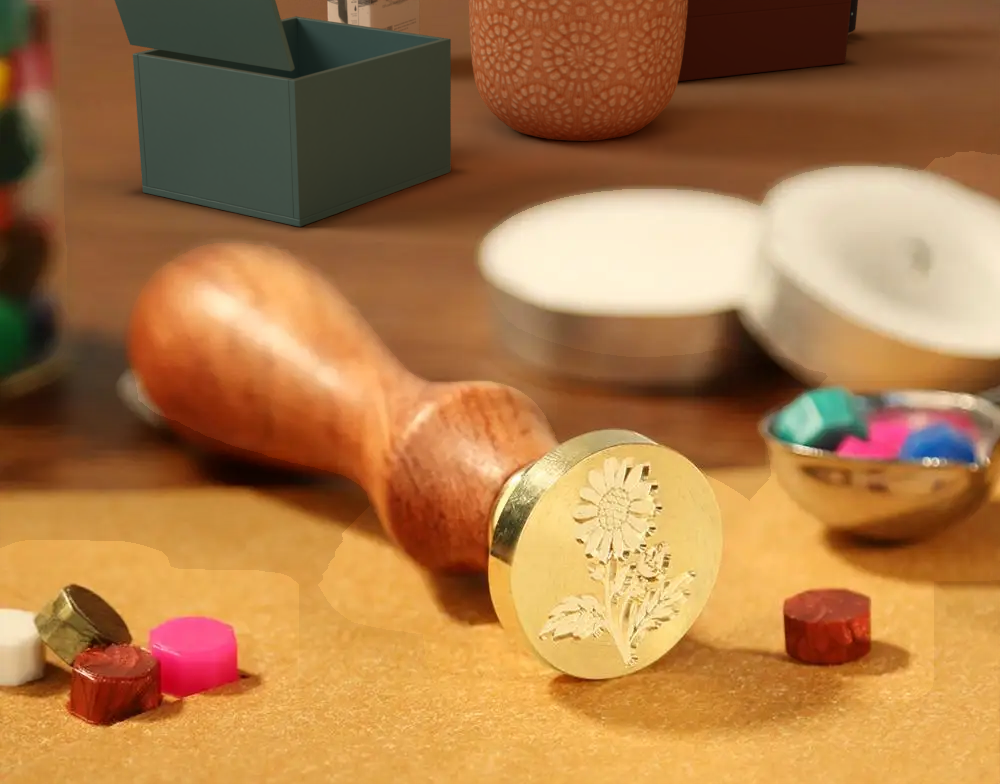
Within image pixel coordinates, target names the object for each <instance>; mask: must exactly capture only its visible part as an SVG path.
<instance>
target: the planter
mask: <svg viewBox="0 0 1000 784" xmlns="http://www.w3.org/2000/svg"><path fill="white" fill-rule="evenodd" d="M687 10H688V0H468V24H469V25H468V26H469V43H470V45H469V46H470V57H471V65H472V71H473V77H474V83H475V86H476V89H477V92H478V94H479V96H480V98H481V100H482V102H483V103H484V104H485V105H486V107H487V109H488V110H489V111H491V113H492V114H493V115H494V116H495V117H496V118H498V120H500V121H501V122H502V123H503V124H505V125H506V126H508V127H509V128H511V129H512V130H514V131H516V132H519V133H521V134H525V135H528V136H532V137H536V138H541V139H548V140H556V141H571V142H572V141H573V142H574V141H575V142H578V141H581V142H582V141H583V142H584V141H588V142H589V141H600V140H601V141H602V140H609V139H615V138H620V137H625V136H628V135H632V134H634V133H637V132H638V131H640V130H641V129H643V128H645V127H646V126H648V125H649V124H650V123H651V122H652V121H654V120H655V119H656V118H657V117H658V116H659V115H660V114H661V113H663V111H664V110H665V109H666V108H667V106H668V105H669V104H670V102H671V100H672V98H673V97H674V94H675V92H676V89H677V86H678V83H679V81H678V79H679V74H680V69H681V64H682V59H683V51H684V42H685V33H686V22H687Z"/></svg>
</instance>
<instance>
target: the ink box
mask: <svg viewBox="0 0 1000 784" xmlns="http://www.w3.org/2000/svg"><path fill="white" fill-rule="evenodd" d="M327 21H332V22H338V23H345V24H352V25H359V26H366V27H373V28H380V29H386V30H393V31H400V32H407V33H414V34H421V0H327Z"/></svg>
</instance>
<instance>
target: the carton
mask: <svg viewBox="0 0 1000 784" xmlns="http://www.w3.org/2000/svg"><path fill="white" fill-rule="evenodd" d="M281 22H282V25H283V29H284V32H285V36H286V39H287V43H288V46H289V50H290V53H291V57H292V60H293V64H294V67H295V69H294V70H293V71H286V70H279V69H273V68H267V67H261V66H255V65H249V64H243V63H237V62H231V61H225V60H219V59H213V58H207V57H201V56H195V55H189V54H183V53H177V52H171V51H165V50H159V49H153V48H150V49H146V50H143V51H138V52H135V53H132V62H133V63H132V64H133V77H134V92H135V104H136V105H135V107H136V117H137V131H138V133H137V134H138V146H139V159H140V172H141V185H142V193H143V194H148V195H153V196H157V197H161V198H166V199H170V200H175V201H180V202H185V203H190V204H193V205H199V206H203V207H208V208H211V209H216V210H222V211H225V212H230V213H235V214H238V215H243V216H247V217H253V218H257V219H262V220H266V221H271V222H275V223H280V224H285V225H289V226H294V227H299V228H301V227H304V226H307V225H310V224H312V223H314V222H315V223H316V222H317V221H318V222H319V221H320V220H322V219H325V218H329V217H331V216H334V215H337V214H340V213H342V212H345V211H347V210H350V209H353V208H356V207H358V206H362V205H364V204H367V203H370V202H372V201H374V200H378V199H382V198H384V197H386V196H388V195H391V194H394V193H396V192H399V191H402V190H405V189H408V188H410V187H413V186H416V185H419V184H421V183H424V182H427V181H429V180H432V179H435V178H438V177H441V176H444V175H446V174H449V173H451V171H452V164H451V162H452V155H451V154H452V150H451V149H452V148H451V147H452V144H451V143H452V140H451V139H452V136H451V135H452V133H451V132H452V131H451V129H452V128H451V127H452V122H451V121H452V120H451V119H452V116H451V115H452V109H451V108H452V102H451V101H452V96H451V95H452V91H451V90H452V79H451V77H452V75H451V74H452V69H451V68H452V62H451V60H452V59H451V58H452V51H451V49H452V47H451V46H452V44H451V43H452V40H451V38H448V37H442V36H441V37H440V36H434V35H427V34H421V33H420V34H414V33H407V32H400V31H393V30H386V29H380V28H373V27H366V26H359V25H352V24H345V23H338V22H332V21H328V20H324V19H317V18H310V17H304V16H297V15H295V16H292V17H287V18H282V19H281Z"/></svg>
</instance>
